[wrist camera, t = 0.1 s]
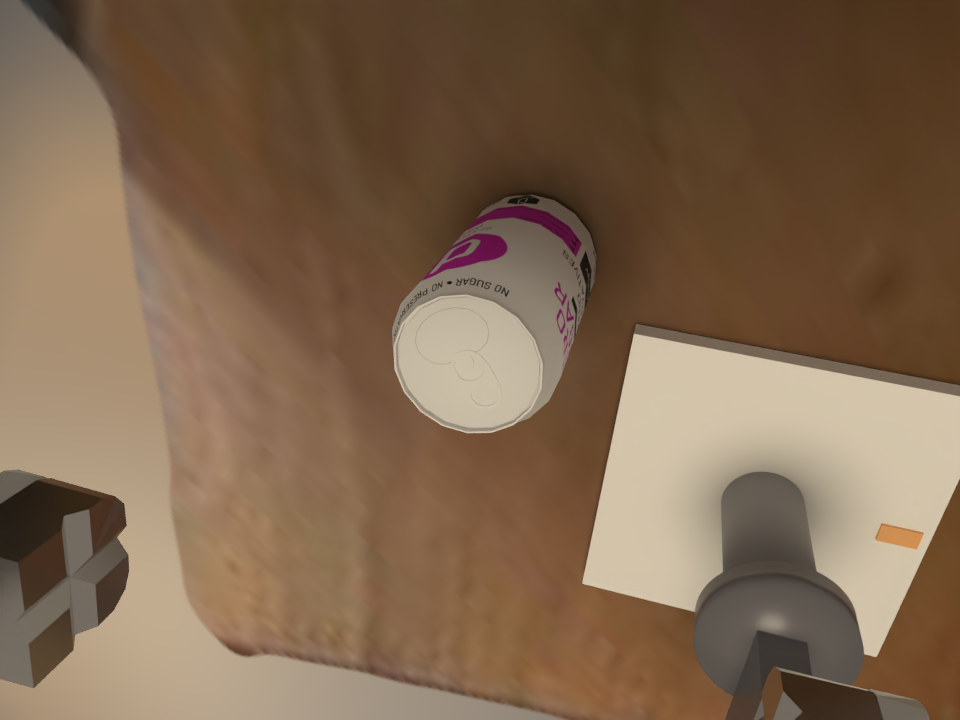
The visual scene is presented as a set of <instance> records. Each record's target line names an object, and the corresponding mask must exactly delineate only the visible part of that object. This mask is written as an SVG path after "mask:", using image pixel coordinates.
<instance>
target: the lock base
mask: <svg viewBox="0 0 960 720" xmlns="http://www.w3.org/2000/svg"><path fill="white" fill-rule="evenodd" d="M959 479H960V385H956V384H950V383H945V382H940V381H935V380H929V379H924V378H919V377H914V376H908V375H903V374H898V373H892V372H887V371H882V370H877V369H871V368H866V367H861V366H856V365H850V364H845V363H840V362H835V361H829V360H824V359H819V358H814V357H808V356H803V355H798V354H792V353H787V352H782V351H777V350H771V349H766V348H761V347H756V346H750V345H745V344H740V343H735V342H729V341H724V340H719V339H713V338H708V337H703V336H698V335H692V334H687V333H682V332H677V331H671V330H666V329H661V328H656V327H650V326H645V325H640V324H636V326H635V331H634V336H633V340H632V345H631V350H630V355H629V360H628V365H627V369H626V374H625V379H624V384H623V389H622V394H621V398H620V403H619V408H618V413H617V418H616V423H615V427H614V432H613V437H612V442H611V447H610V452H609V456H608V461H607V466H606V471H605V476H604V480H603V485H602V490H601V495H600V500H599V505H598V509H597V514H596V519H595V524H594V529H593V534H592V538H591V543H590V548H589V553H588V558H587V563H586V567H585V572H584V577H583V582H582V584H586V585H590V586H594V587H598V588H602V589H606V590H610V591H614V592H618V593H622V594H626V595H630V596H634V597H638V598H642V599H646V600H650V601H654V602H658V603H662V604H666V605H670V606H674V607H678V608H682V609H686V610H690V611H694V612H695V607H696V602H697V600H698V597H699V595H700V593H701V592H702V590H703V589H704V588H705V586H706V585H707V584H708V583H709V582H710V581H711V580H712V579H714V578H715V577H716V576H718V575H719V574H721V573H722V572H724V571H726V570H728V569H730V568H733V567H736V566H739V565H742V564H746V563H751V562H759V561H780V562H788V563H793V564H797V565H801V566H804V567H807V568H810V569H812V570H815V571H817V572H819V573H821V574H823V575H824V576H826V577H828V578H829V579H830V580H832V581H833V582H835V583H836V584H837V585H838V586H839V587H840V588H841V589H842V590H843V591H844V592H845V593H846V595H847V596H848V597H849V599H850V601H851V602H852V604H853V607H854V609H855V612H856V616H857V620H858V625H859V629H860V634H861V638H862V642H863V647H864V654H866V655H870V656H874V657H877V655H878V653H879V651H880V648H881V646H882V644H883V642H884V640H885V638H886V636H887V633H888V631H889V629H890V627H891V625H892V623H893V620H894V618H895V616H896V614H897V612H898V610H899V608H900V605H901V603H902V601H903V599H904V597H905V595H906V593H907V590H908V588H909V586H910V584H911V582H912V580H913V578H914V575H915V573H916V571H917V569H918V567H919V565H920V563H921V560H922V558H923V556H924V554H925V552H926V550H927V548H928V545H929V543H930V541H931V539H932V537H933V535H934V533H935V530H936V528H937V526H938V524H939V522H940V520H941V517H942V515H943V513H944V511H945V509H946V507H947V505H948V502H949V500H950V498H951V496H952V494H953V492H954V490H955V487H956V485H957V483H958V481H959Z"/></svg>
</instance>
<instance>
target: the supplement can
mask: <svg viewBox="0 0 960 720" xmlns="http://www.w3.org/2000/svg"><path fill="white" fill-rule="evenodd" d="M596 259H597V256H596V253H595V249H594V246H593V242H592V239H591V236H590V233H589V232H588V230H587V229H586V228H585V226H584V225H583V224H582V222H581V221H580V220H579V218H578V217H577V216H576V214H574V213H573V212H571V211H570V210H568V209H567V208H565V207H564V206H562V205H561V204H559V203H558V202H556V201H555V200H551V199H547V198H543V197H539V196H535V195H531V194H530V195H520V196H510V197H506V198H504V199H502V200H500V201H498V202H496V203H494V204H492V205H490V206H488V207H486V208H485V209H484V210H483V211H482V213H481V214H480V215H479V216H478V217H477V218H476V219H475V220H474V221H473V222H472V224H471V225H470V226H469V227H468V228H467V229H466V230H465V232H464V233H463V234H462V235H461V236H460V237H459V238H458V239H457V241H456V242H455V243H454V244H453V245H452V246H451V247H450V249H449V250H448V251H447V252H446V253H445V254H444V255H443V256H442V258H441V259H440V260H439V261H438V262H437V263H436V264H435V265H434V267H433V268H432V269H431V270H430V271H429V272H428V273H427V275H426V276H425V277H424V278H423V279H422V280H421V281H420V282H419V284H418V285H417V286H416V287H415V288H414V289H413V290H412V292H411V293H410V294H409V295H408V296H407V297H406V298H405V299H404V301H403V302H402V303H401V305H400V308H399V310H398V313H397V316H396V319H395V322H394V325H393V328H392V336H393V356H394V364H395V371H396V374H397V376H398V379H399V381H400V383H401V386H402V388H403V391H404V393H405V394H406V395H407V396H408V397H409V399H410V400H411V401H412V402H413V403H414V404H415V406H416V407H417V408H418V409H419V410H420V412H422V413H423V414H425V415H426V416H428V417H430V418H431V419H433V420H434V421H436V422H437V423H439V424H440V425H442V426H445V427H448V428H451V429H455V430H458V431H462V432H465V433H492V432H495V431H498V430H501V429H503V428H506V427H509V426H512V425H514V424H516V423H517V422H520V421H522V420H525V419H528V418H530V417H531V416H532V415H533V414H534V413H535V412H537V411H538V410H539V409H540V408H541V407H542V406H543V405H545V404H546V403H547V402H548V401H549V400H550V398H551V396H552V394H553V392H554V390H555V388H556V386H557V384H558V382H559V380H560V377H561V375H562V372H563V369H564V366H565V364H566V361H567V358H568V355H569V352H570V349H571V346H572V344H573V341H574V338H575V335H576V332H577V329H578V326H579V324H580V321H581V318H582V315H583V312H584V309H585V306H586V303H587V301H588V298H589V295H590V292H591V289H592V286H593V283H594V281H595V272H596Z"/></svg>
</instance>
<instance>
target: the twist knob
mask: <svg viewBox="0 0 960 720" xmlns="http://www.w3.org/2000/svg"><path fill="white" fill-rule="evenodd" d="M694 648H695V653H696V656H697V659H698V662H699V664H700V666H701V668H702V669H703V670H704V672H705V673H706V675H707V676H708V677H709V678H710V679H711V680H712V681H713V682H714V683H715V684H717V685H718V686H719V687H720V688H722V689H723V690H725V691H726V692H728V693H729V694H731V695H733V699H732V702H731V705H730V708H729V710H728V713H727V716H726V719H725V720H758V719H760V718H762V717H763V716H764V711H763V702H762V691H763V688H764V685H765V682H766V679H767V676H768V675H769V673H770V671H771V670H772V668H773V667H774V666H775V667H779V668H783V669H787V670H791V671H795V672H799V673H803V674H807V675H811V676H815V677H819V678H823V679H827V680H830V681H834V682H838V683H842V684H846V685H850V686H851V685H852V684H853V682H854V681H855V680H856V679H857V677H858V675H859V673H860V671H861V669H862V666H863V661H864V647H863V642H862V638H861V634H860V629H859V625H858V620H857V616H856V612H855V609H854V607H853V604H852V602H851V601H850V599H849V597H848V596H847V595H846V593H845V592H844V591H843V590H842V589H841V588H840V587H839V586H838V585H837V584H836V583H835V582H833V581H832V580H830V579H829V578H828V577H826V576H824V575H823V574H821V573H819V572H817V571H815V570H812V569H810V568H807V567H804V566H801V565H797V564H793V563H788V562H780V561H759V562H751V563H746V564H742V565H739V566H736V567H733V568H730V569H728V570H726V571H724V572H722V573H721V574H719V575H718V576H716V577H715V578H714V579H712V580H711V581H710V582H709V583H708V584H707V585H706V586H705V588H704V589H703V590H702V592H701V593H700V595H699V597H698V600H697V602H696V607H695V626H694Z"/></svg>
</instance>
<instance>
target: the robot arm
mask: <svg viewBox="0 0 960 720" xmlns="http://www.w3.org/2000/svg"><path fill="white" fill-rule="evenodd" d="M125 527H126V517H125V508H124V503H122V502H121V501H120V500H119V499H117V498H116V497H115V496H112V495H108V494H104V493H101V492H97V491H94V490H90V489H87V488H83V487H79V486H76V485H73V484H69V483H65V482H62V481H58V480H55V479H52V478H46V477H43V476H39V475H36V474H32V473H28V472H25V471H21V470H8V471H3V472H1V473H0V679H3V680H6V681H10V682H13V683H17V684H20V685H24V686H28V687H31V688H34V687H36V686H37V685H38V684H39V683H40V682H41V681H42V680H43V679H44V678H45V677H46V676H47V675H48V674H49V673H50V672H51V671H52V670H53V669H54V668H55V667H56V666H57V665H58V664H59V663H60V662H61V661H63V660H64V659H65V658H66V657H67V656H68V655H69V654H70V653H71V652H72V651H73V648H74V638H75V635H76V634H78V633H80V632H83V631H86V630H89V629H91V628H94V627H97V626H99V625H100V624H101V623H102V622H103V621H104V620H105V618H106V617H108V616H109V614H111V613H112V611H113V610H114V609H115V607H116V605H117V603H118V601H119V600H120V598H121V596H122V594H123V592H124V590H125V588H126V582H127V578H128V573H129V561H128V554H127V552H126V551H125V549H124V548H123V546H122V545H121V543H120V541H119V540H118V539H117V537H118V535H119V534H120V533H121V532H122V531H123V529H124V528H125ZM762 702H763V711H764V716H763V717H762V718H760V719H758V720H930V719H929V716H928V713H927V711H926V708H925V707H924V706H923V705H922V704H921V703H920V702H919V701H918V700H915V699H911V698H907V697H902V696H898V695H894V694H889V693H885V692H881V691H876V690H872V689H868V690H865V689H862V688H858V687H854V686H850V685H846V684H842V683H838V682H834V681H830V680H827V679H823V678H819V677H815V676H811V675H807V674H803V673H799V672H795V671H791V670H787V669H783V668H779V667H775V666H774V667H773V668H772V670H771V671H770V673H769V675H768V676H767V679H766V682H765V685H764V688H763V691H762Z"/></svg>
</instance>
